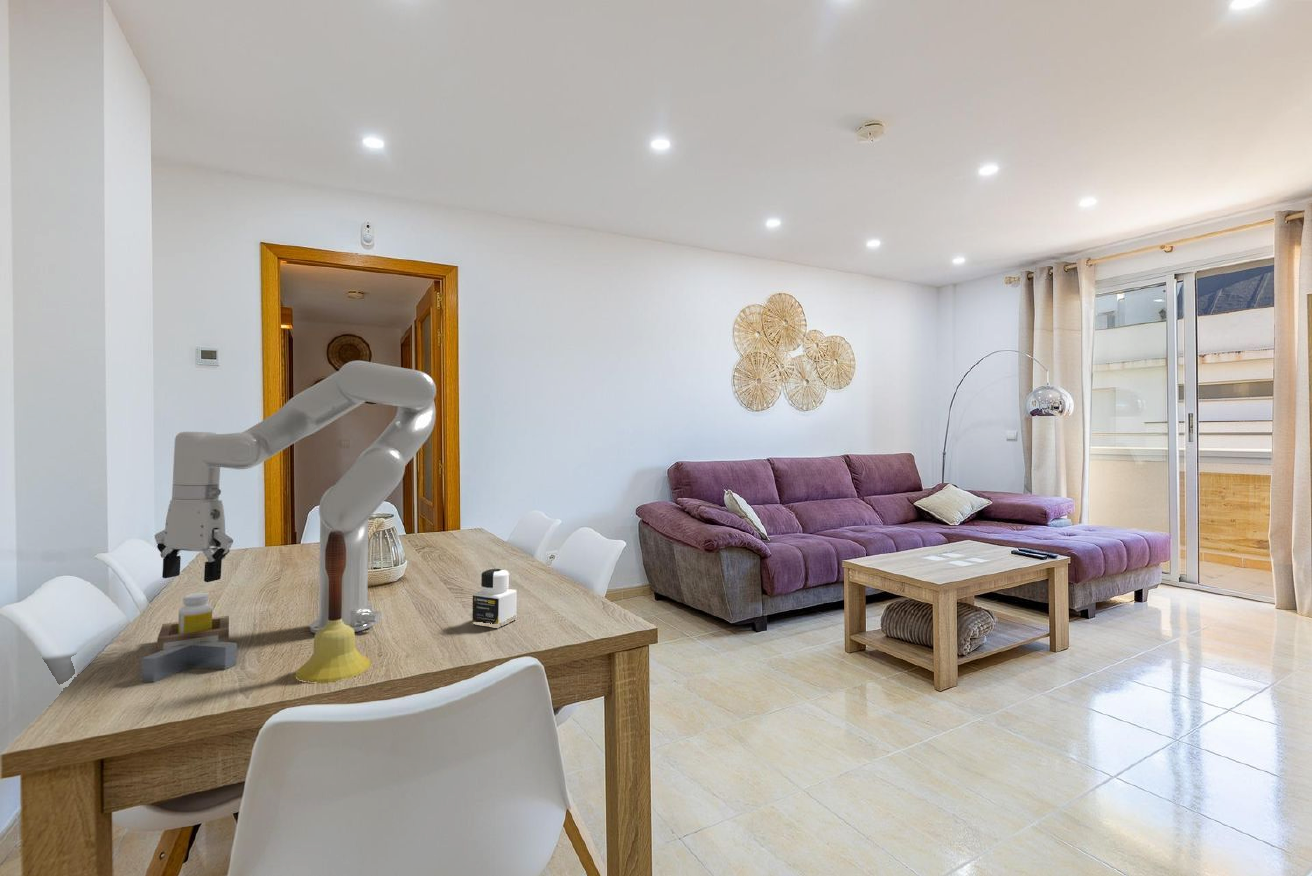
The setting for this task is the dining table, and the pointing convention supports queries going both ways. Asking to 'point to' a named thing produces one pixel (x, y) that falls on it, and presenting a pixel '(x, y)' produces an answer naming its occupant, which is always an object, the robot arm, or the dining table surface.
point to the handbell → (334, 627)
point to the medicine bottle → (494, 598)
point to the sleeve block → (171, 632)
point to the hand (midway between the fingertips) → (191, 578)
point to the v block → (188, 657)
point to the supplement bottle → (195, 614)
